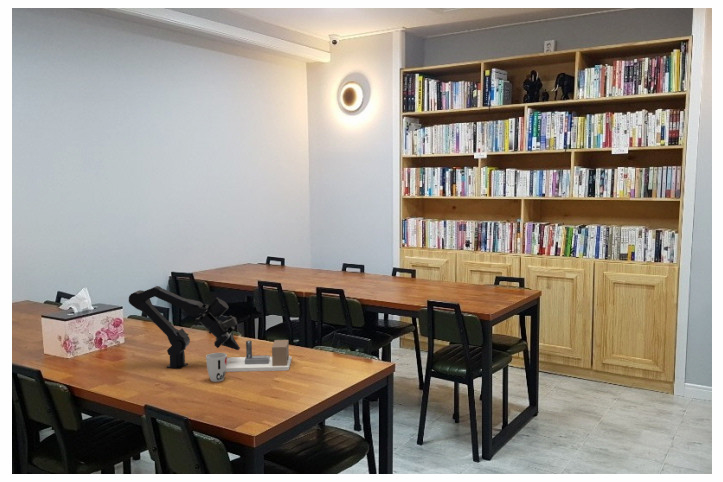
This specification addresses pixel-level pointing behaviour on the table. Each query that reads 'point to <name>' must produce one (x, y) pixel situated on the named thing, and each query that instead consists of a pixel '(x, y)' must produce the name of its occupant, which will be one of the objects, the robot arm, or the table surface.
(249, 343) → the bolt
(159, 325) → the robot arm
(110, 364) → the table surface
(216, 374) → the cup
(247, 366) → the base
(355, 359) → the table surface
